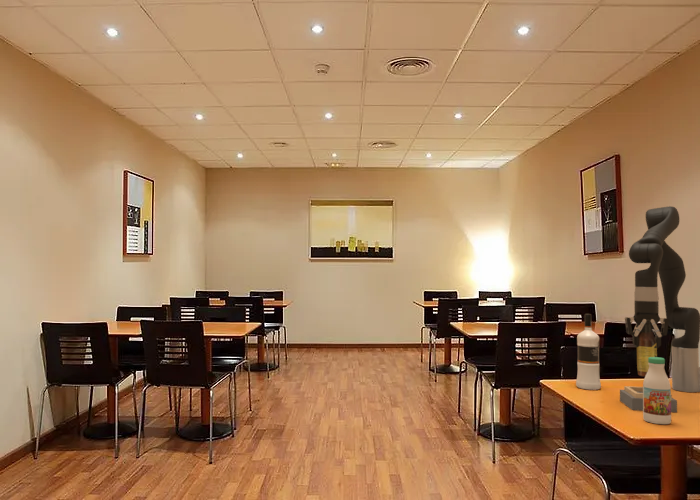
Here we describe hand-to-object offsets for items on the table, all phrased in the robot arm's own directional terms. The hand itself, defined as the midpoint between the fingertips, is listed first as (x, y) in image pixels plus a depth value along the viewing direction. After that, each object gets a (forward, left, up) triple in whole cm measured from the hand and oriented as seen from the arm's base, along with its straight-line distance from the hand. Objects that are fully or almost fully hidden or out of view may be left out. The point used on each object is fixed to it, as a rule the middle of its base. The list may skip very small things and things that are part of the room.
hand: (646, 347), depth 193 cm
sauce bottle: (0, 0, -10) cm, 10 cm away
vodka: (+13, -28, -21) cm, 37 cm away
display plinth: (0, 0, -21) cm, 21 cm away
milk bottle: (+4, +21, -21) cm, 30 cm away
